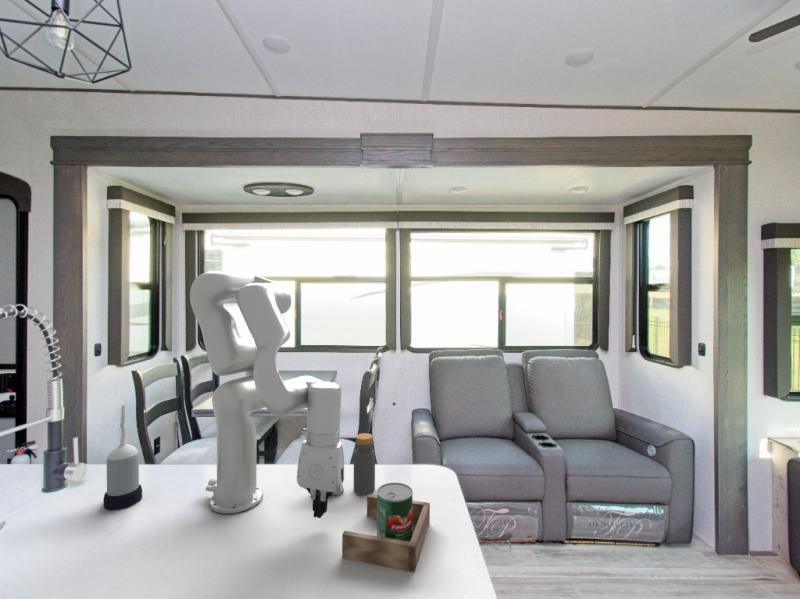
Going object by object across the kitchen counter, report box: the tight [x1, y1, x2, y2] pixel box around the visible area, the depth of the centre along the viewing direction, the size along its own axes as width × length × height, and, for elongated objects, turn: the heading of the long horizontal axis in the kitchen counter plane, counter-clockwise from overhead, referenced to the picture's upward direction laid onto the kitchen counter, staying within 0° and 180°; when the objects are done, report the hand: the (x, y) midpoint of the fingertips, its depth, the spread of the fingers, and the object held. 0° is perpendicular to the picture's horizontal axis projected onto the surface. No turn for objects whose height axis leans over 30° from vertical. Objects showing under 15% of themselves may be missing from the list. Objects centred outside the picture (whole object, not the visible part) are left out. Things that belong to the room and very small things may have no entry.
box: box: [341, 493, 431, 573], centre depth 86 cm, size 15×16×5 cm
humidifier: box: [103, 404, 143, 511], centre depth 101 cm, size 8×8×25 cm
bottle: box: [353, 432, 376, 496], centre depth 108 cm, size 6×6×15 cm
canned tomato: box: [376, 482, 414, 542], centre depth 86 cm, size 8×8×11 cm
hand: (319, 514), depth 90 cm, fingers closed
